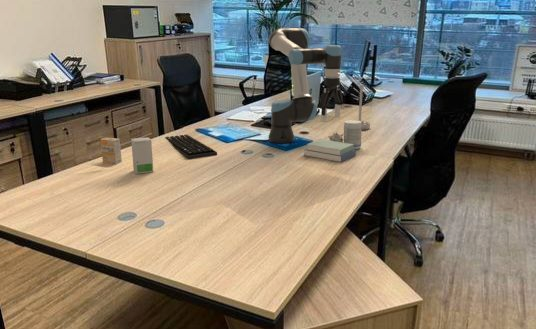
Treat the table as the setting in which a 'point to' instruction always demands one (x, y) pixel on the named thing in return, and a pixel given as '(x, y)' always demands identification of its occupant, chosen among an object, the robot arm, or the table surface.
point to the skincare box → (142, 155)
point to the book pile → (330, 150)
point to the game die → (336, 137)
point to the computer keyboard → (190, 147)
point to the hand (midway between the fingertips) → (330, 119)
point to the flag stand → (367, 124)
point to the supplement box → (111, 150)
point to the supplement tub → (353, 133)
